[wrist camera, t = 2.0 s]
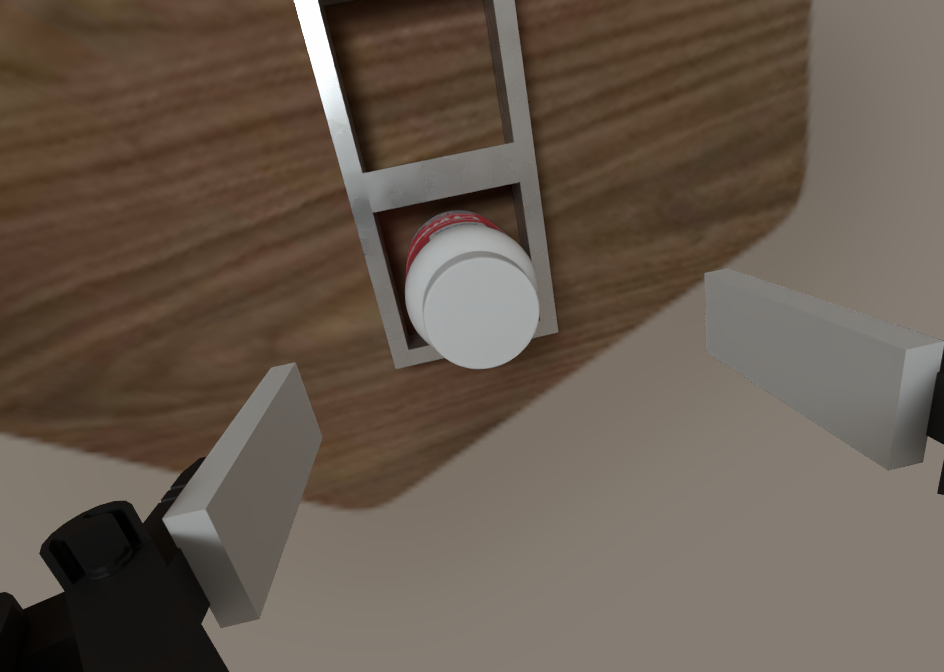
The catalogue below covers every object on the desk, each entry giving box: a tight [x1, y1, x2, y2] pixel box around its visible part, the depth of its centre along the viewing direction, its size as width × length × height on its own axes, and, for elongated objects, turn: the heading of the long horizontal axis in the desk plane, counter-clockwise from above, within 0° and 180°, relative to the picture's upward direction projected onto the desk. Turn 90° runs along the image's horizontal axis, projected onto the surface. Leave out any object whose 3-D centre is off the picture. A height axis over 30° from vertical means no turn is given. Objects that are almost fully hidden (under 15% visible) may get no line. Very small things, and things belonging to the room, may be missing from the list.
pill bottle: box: [405, 210, 540, 369], centre depth 24 cm, size 6×6×11 cm
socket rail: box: [294, 0, 558, 369], centre depth 24 cm, size 10×30×3 cm, turn 11°
